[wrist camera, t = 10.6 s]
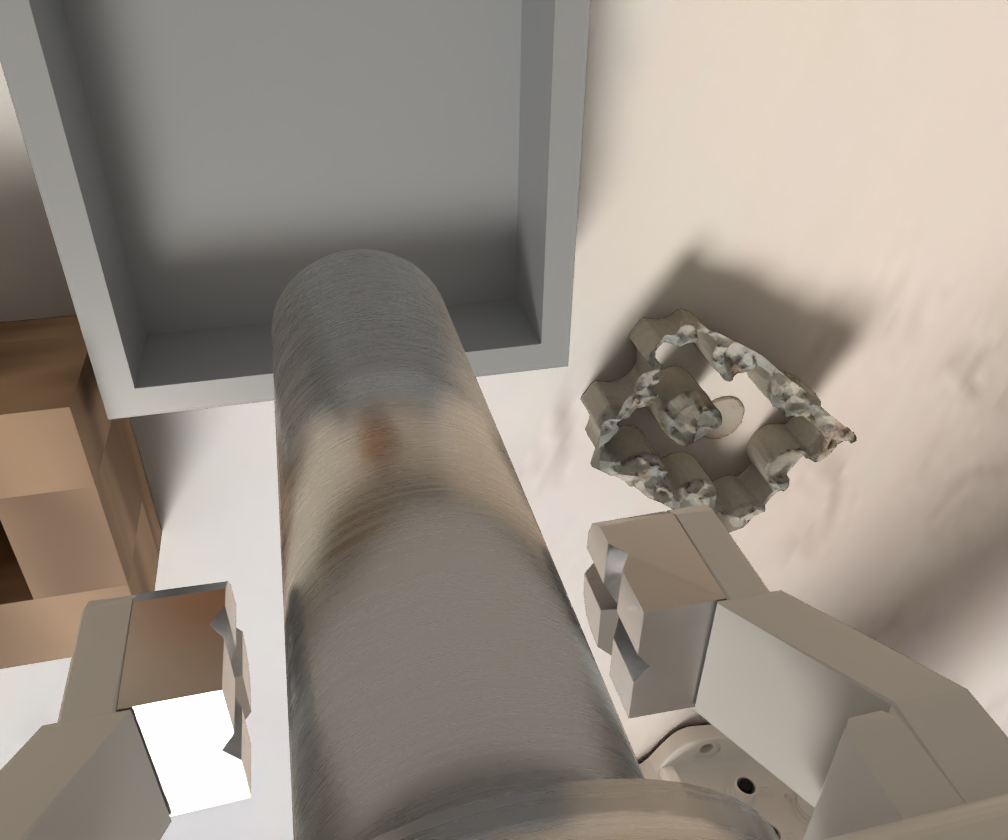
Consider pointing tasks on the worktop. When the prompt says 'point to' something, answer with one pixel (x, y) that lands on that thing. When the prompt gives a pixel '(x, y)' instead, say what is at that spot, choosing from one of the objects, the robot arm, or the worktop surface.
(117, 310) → the grey tray
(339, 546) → the steel pin
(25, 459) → the socket block
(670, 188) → the worktop surface
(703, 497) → the egg carton
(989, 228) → the worktop surface
